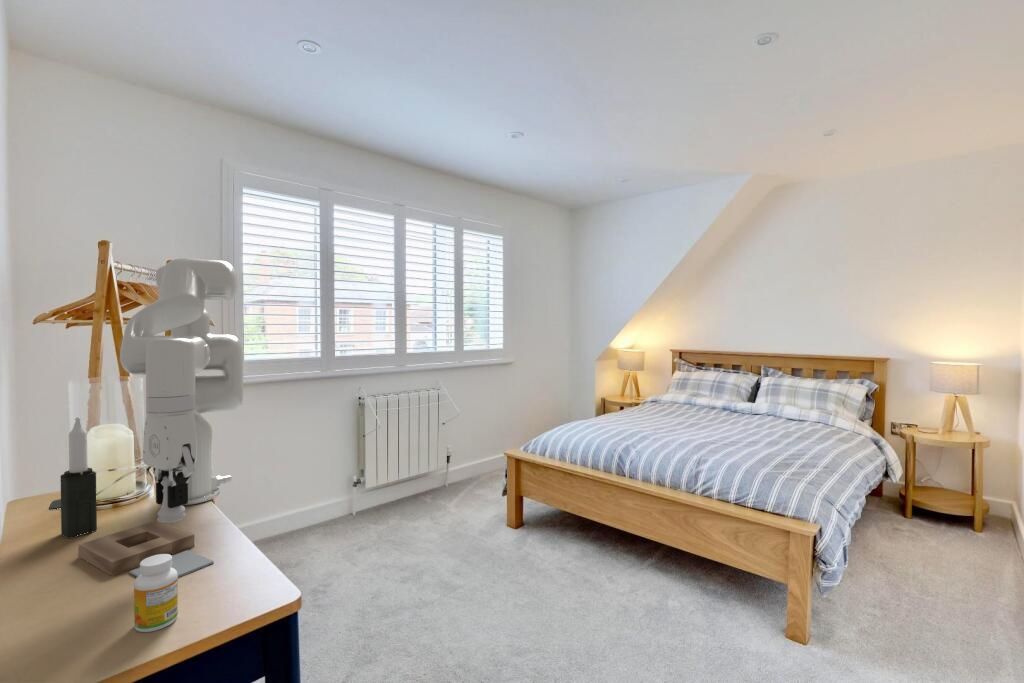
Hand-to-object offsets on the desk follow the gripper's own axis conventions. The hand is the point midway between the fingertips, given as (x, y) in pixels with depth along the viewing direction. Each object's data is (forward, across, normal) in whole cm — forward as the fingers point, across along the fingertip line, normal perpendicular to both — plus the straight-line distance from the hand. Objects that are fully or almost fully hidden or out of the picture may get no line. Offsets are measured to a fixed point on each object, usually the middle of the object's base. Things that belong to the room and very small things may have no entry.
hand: (172, 502), depth 92 cm
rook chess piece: (+3, 0, 0) cm, 3 cm away
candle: (+12, -34, -2) cm, 36 cm away
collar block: (+12, -13, 0) cm, 18 cm away
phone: (+13, -56, +8) cm, 58 cm away
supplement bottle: (+13, +16, -10) cm, 23 cm away
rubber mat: (+12, 0, 0) cm, 12 cm away
